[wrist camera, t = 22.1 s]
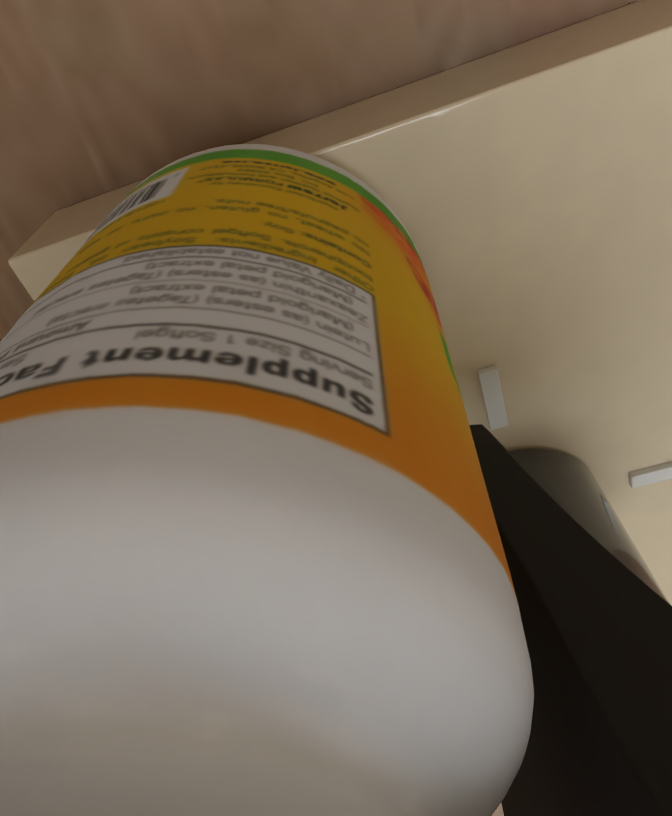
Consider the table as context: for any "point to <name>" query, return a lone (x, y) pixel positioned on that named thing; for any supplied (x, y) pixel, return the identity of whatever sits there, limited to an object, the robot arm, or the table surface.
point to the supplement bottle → (249, 518)
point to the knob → (585, 505)
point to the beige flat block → (524, 241)
